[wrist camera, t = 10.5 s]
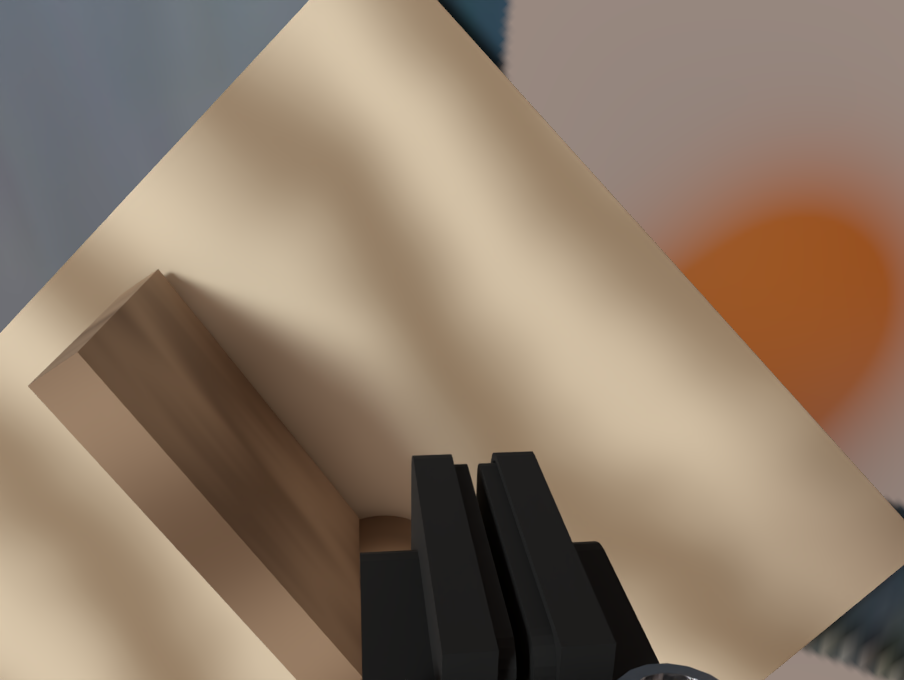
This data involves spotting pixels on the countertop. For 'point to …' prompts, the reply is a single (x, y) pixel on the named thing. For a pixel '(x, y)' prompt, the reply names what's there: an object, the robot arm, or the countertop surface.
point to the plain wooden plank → (220, 476)
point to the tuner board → (426, 365)
